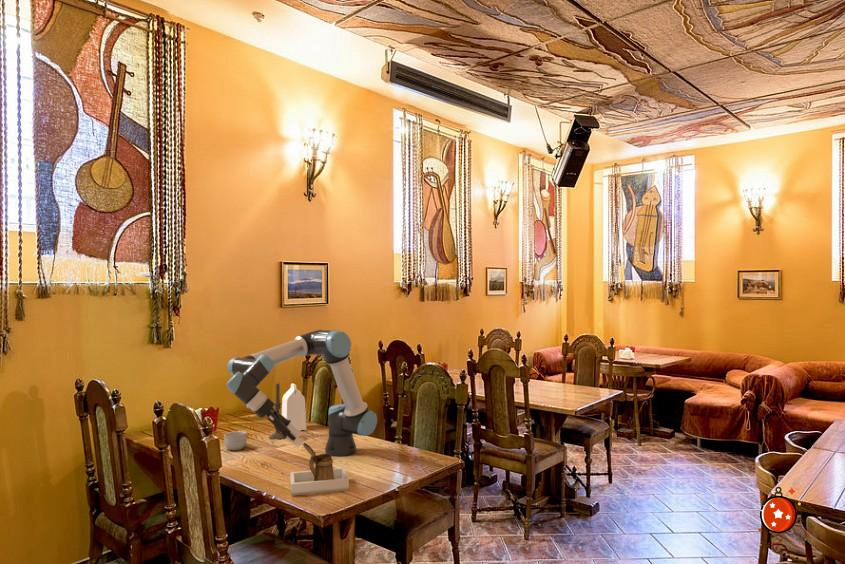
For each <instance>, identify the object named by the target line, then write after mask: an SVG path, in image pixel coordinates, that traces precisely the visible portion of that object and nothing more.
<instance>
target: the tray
mask: <svg viewBox="0 0 845 564" xmlns="http://www.w3.org/2000/svg"><path fill="white" fill-rule="evenodd" d="M333 473H334V478H335V479H332V480H321V481H313V479H314V475H313V473H312V472H311V470H306V471H305V470H303V471H292V472H290V477H289V478H290V492H291V493H290V495H291V497H294V496H306V495H307V496H308V495H316V494H318V495H319V494H326V493H328V494H329V493H336V492H337V493H338V492H344V491H345V492H348V491H350V479H349V476H348V473H347V471H346V469H345V467H337V468H336V467H335V468H333Z"/></svg>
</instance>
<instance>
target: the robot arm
mask: <svg viewBox="0 0 845 564" xmlns="http://www.w3.org/2000/svg"><path fill="white" fill-rule="evenodd" d="M351 350H352V340H351V338H350V337H349V335H348V334H347V332H344V331H342V330H336V329H335V330H334V329H333V330H327V329H316V330H313V331H309V332H306V333H305V334H301V335H299V336H298V335H297V336H295V337H294V340H293V339H292V340H291V341H287V342H285V343H281V344H277V345H275V346H272V347H270V348H267V349H264V350H261V351H257V352H256V353H255V352H254V353H252V354H250V355H246V356H243V357H239V356H238V357H233V358H231V359H230V360H229V361H228V363H227V366H226V368H227V372H228V373H229V374H230V375H231V376H232V377H230V379H229V380H228V381H227V382H226V384H225V386H226V387H225V388H227V389H228V390H229V392H231V393H232V394H233V395H234V397H237V398H238V400H240V401H241V402H242V403H243V404H245V405H246V408H247V409H250V410H251V411H252V412H254V415H255V414H256V415H257V417H258V418H260V419H263V418H264V417H267V421H269V422H271V424H272V425H273V426H275V427H276V428H277V429H278V430H279V431H280V433H282V434H283V437H284V439H286V438H287V439H288V440H289V441H290V442H291V443H293V444H294V445H295V446H296V447H297V448H299V447H300V446H302V445H303V444H304V441H303V440H302V439H301V438H300V437H301V435H302V434H303V433H302V431H298V430H297V429H296V428H295V427H294V426H293V425H292V424H291V423H290V422H291V421H290V420H288V419H286V418H285V417H283V416H282V413H280V412H279V413H278V412H277V411H276V409H275V408H274V407H275V405H274V403H275V402H274V401H272V400H271V399H270V398H267V397H268V396H267V395H266V394H265V393H264V392H263V391H261V390H260V389H259V388H258V386H259V385H260V384H261V382H262V381H264V380H265V378H266V377H267V376H268V375H269V374H270V373H271V371H272V370H273V369H274V368H275V365H278V364H281V363H283V362H287V361H289V360H291V359H294V358H297V357H307V356H312V355H313V356H314V355H315V356H323V359H324V362H325V364H326V365H328V366H329V367H330V369H331V371H332V375H333V378H334V380H335V382H336V385H337V388H338V392H339V394H340V397H341V399H342V402H343V403H339V404H334V405H331V406H330V407H329V408H328V414H327V415H328V416H327V417H328V438H327V441H326V445H325V448H324V454H330V455H331V457H344V456H350V455H353V454H355V453H357V445H356V443H355V442H356V441H355V439H354V436H353V435H357V436H361V437H362V436H363V437H366V436H369V435H371V434H372V433H373V432H374V431H375V429H376V427H377V424H378V416H377V414H376V413H375V411H373V410H370V409H369V405H368V403H367V402H365V401H363V398H362V395H361V392H360V389H359V387H358V384H357V381H356V378H355V375H354V372H353V369H352V367H351V366H352V365H351V363H350V361H349V357H350V356H351V354H350V352H351ZM289 423H290V424H289ZM275 427H274V428H275ZM285 437H286V438H285Z"/></svg>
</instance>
